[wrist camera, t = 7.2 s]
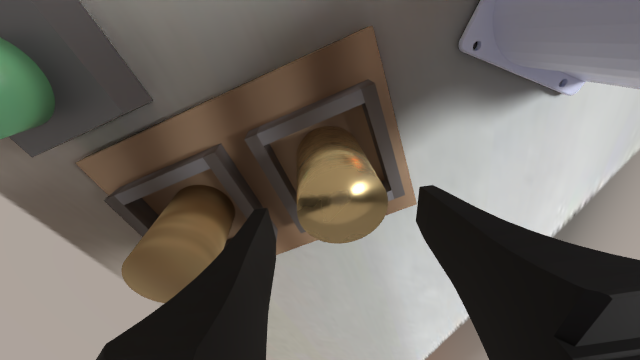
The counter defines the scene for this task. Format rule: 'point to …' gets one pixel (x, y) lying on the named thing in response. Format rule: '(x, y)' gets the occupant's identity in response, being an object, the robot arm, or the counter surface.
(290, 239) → the wooden fixture board
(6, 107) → the button
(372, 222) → the cylinder
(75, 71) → the button box
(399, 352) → the counter surface
